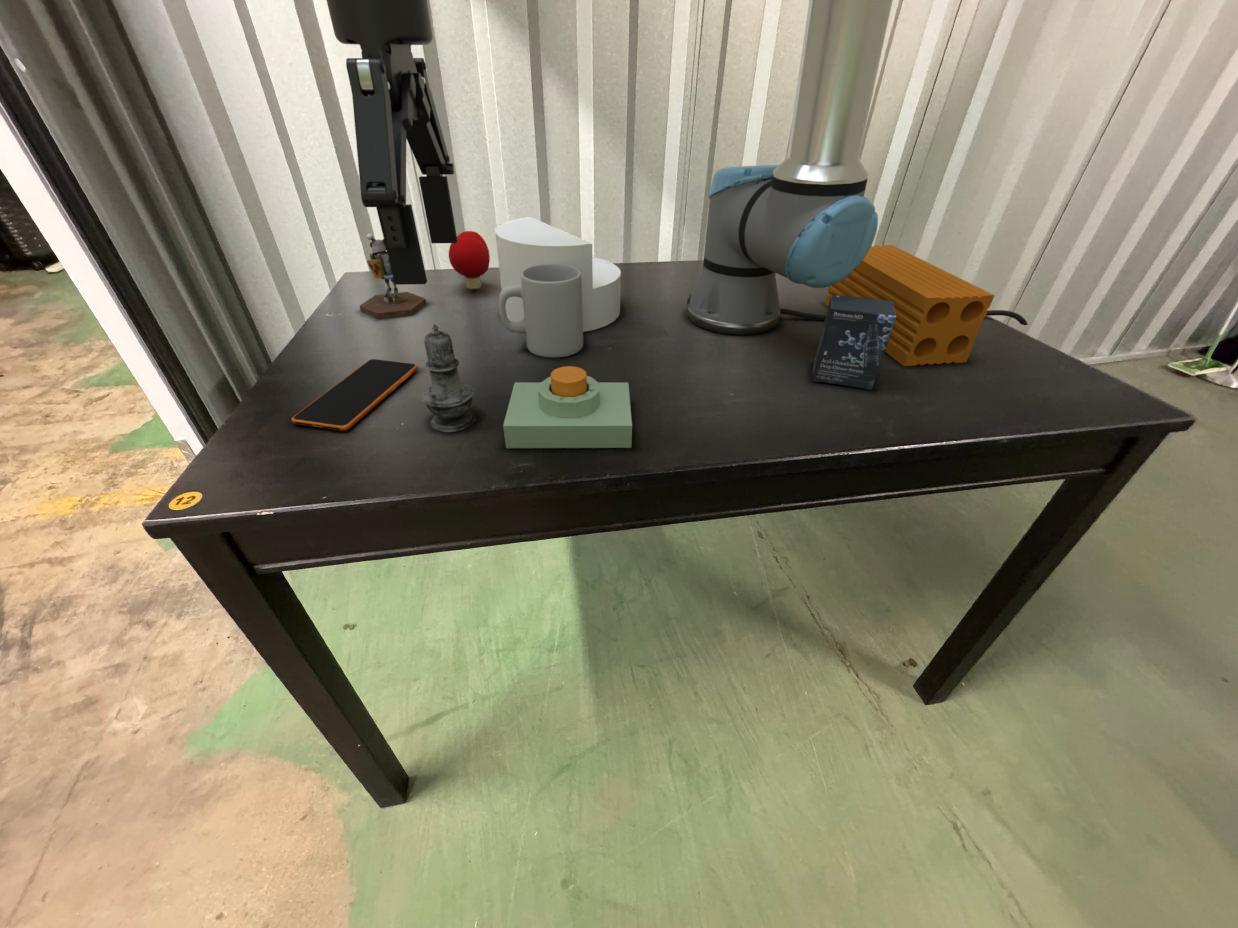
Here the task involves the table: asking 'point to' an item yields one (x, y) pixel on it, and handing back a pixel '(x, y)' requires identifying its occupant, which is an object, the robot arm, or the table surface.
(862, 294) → the brick
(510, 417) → the green button housing
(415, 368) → the smartphone
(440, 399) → the salt shaker
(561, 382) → the orange push button
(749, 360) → the table surface
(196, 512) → the table surface
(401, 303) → the robot figurine
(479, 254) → the red mushroom
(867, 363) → the box
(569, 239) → the container
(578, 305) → the mug
